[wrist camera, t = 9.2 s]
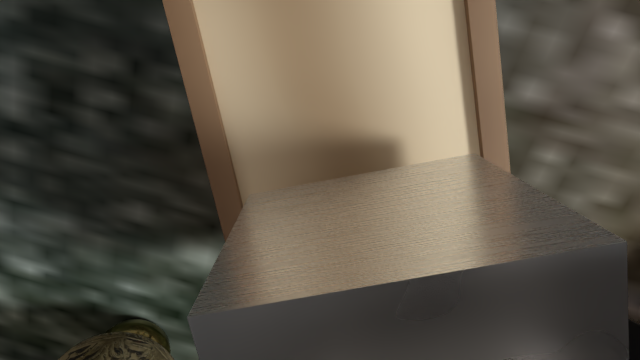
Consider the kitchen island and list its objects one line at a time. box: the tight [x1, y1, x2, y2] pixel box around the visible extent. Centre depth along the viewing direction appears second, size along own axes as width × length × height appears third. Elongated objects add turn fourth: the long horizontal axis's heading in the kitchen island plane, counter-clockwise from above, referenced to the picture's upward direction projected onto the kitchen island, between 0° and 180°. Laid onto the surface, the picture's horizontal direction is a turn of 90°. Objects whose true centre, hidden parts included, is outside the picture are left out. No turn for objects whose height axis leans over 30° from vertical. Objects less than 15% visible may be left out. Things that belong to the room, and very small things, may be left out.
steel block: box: [187, 153, 629, 360], centre depth 8 cm, size 5×5×5 cm
